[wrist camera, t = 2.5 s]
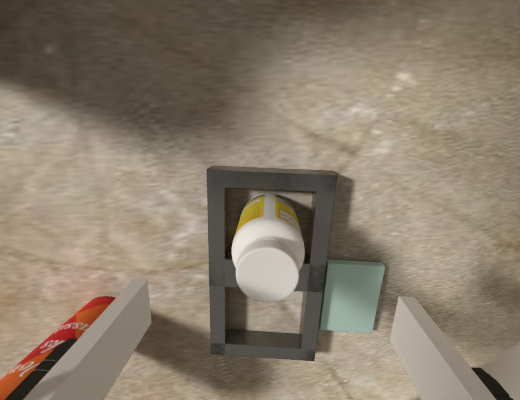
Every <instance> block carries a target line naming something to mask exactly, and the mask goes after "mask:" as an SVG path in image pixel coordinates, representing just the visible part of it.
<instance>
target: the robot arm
mask: <svg viewBox="0 0 520 400" xmlns="http://www.w3.org/2000/svg"><path fill="white" fill-rule="evenodd" d="M151 323H152V321H151V311H150V300H149V289H148V280H144V279H133V280H132V281H131V282H130V283H129V284H128V285H127V287H126V288H125V289H124V290H123V291H122V292H121V293H120V294H119V295H118V296H117V297H116V299H115V300H114V301H113V302H112V303H111V304H110V305H109V306H108V307H107V308H106V309H105V311H104V312H103V313H102V314H101V315H100V316H99V317H98V318H97V319H96V320H95V322H94V323H93V324H92V325H91V326H90V327H89V328H88V329H87V330H86V331H85V332H84V334H83V335H82V336H81V337H80V338H79V339H78V338H69V339H68V340H66V341H65V342H63V343H62V344H60V345H59V346H57V347H56V348H55V349H54V350H53V351H52V352H51V353H50V354H49V355H48V356H47V357H46V358H45V359H44V361H42V362H41V363H40V364H39V365H38V366H37V367H36V368H35V370H34V371H32V372H31V373H30V374H29V375H28V376H27V377H26V378H25V379H24V380H23V381H22V382H21V383H20V384H19V385H18V386H17V387H16V388H15V389H14V390H13V391H12V392H11V393H10V394H9V395H8V396H7V397H6V398H5V399H4V400H104V398H105V397H106V395H107V394H108V392H109V390H110V389H111V387H112V386H113V384H114V382H115V381H116V379H117V378H118V376H119V374H120V373H121V371H122V369H123V368H124V366H125V365H126V363H127V361H128V360H129V358H130V357H131V355H132V353H133V352H134V350H135V349H136V347H137V345H138V344H139V342H140V341H141V339H142V337H143V336H144V334H145V332H146V331H147V329H148V328H149V326H150V324H151ZM390 342H391V343H392V345H393V347H394V349H395V351H396V353H397V355H398V357H399V359H400V360H401V362H402V364H403V366H404V368H405V370H406V372H407V374H408V376H409V378H410V379H411V381H412V383H413V385H414V387H415V389H416V391H417V393H418V395H419V396H420V398H421V400H513V399H512V398H510V397H509V394H508V393H507V392H506V391H505V390H504V389H503V388H502V386H501V385H500V384H499V383H498V382H497V381H496V380H495V379H494V378H493V377H491V376H490V375H489V374H487V373H486V372H485V371H484V370H483V369H481V368H472V367H470V366H469V365H468V364H467V362H466V361H465V360H464V359H463V357H462V356H461V355H460V354H459V352H458V351H457V350H456V349H455V347H454V346H453V345H452V344H451V342H450V341H449V340H448V339H447V337H446V336H445V335H444V334H443V332H442V331H441V330H440V329H439V327H438V326H437V325H436V324H435V322H434V321H433V320H432V319H431V317H430V316H429V315H428V314H427V312H426V311H425V310H424V309H423V307H422V306H421V305H420V304H419V302H418V301H417V300H416V299H415V297H406V296H399V298H398V303H397V307H396V312H395V317H394V321H393V326H392V331H391V336H390Z"/></svg>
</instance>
